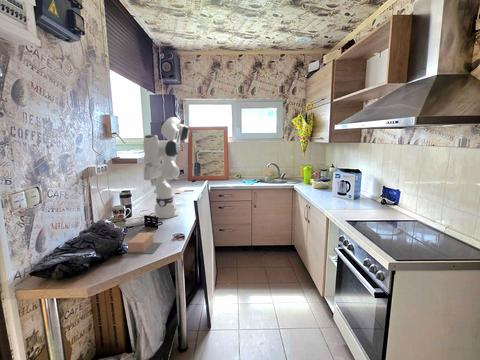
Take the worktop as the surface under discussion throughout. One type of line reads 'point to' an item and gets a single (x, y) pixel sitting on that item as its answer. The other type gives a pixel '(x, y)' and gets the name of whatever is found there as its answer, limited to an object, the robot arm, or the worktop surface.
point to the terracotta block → (140, 242)
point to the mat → (149, 250)
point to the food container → (118, 222)
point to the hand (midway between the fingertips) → (153, 185)
